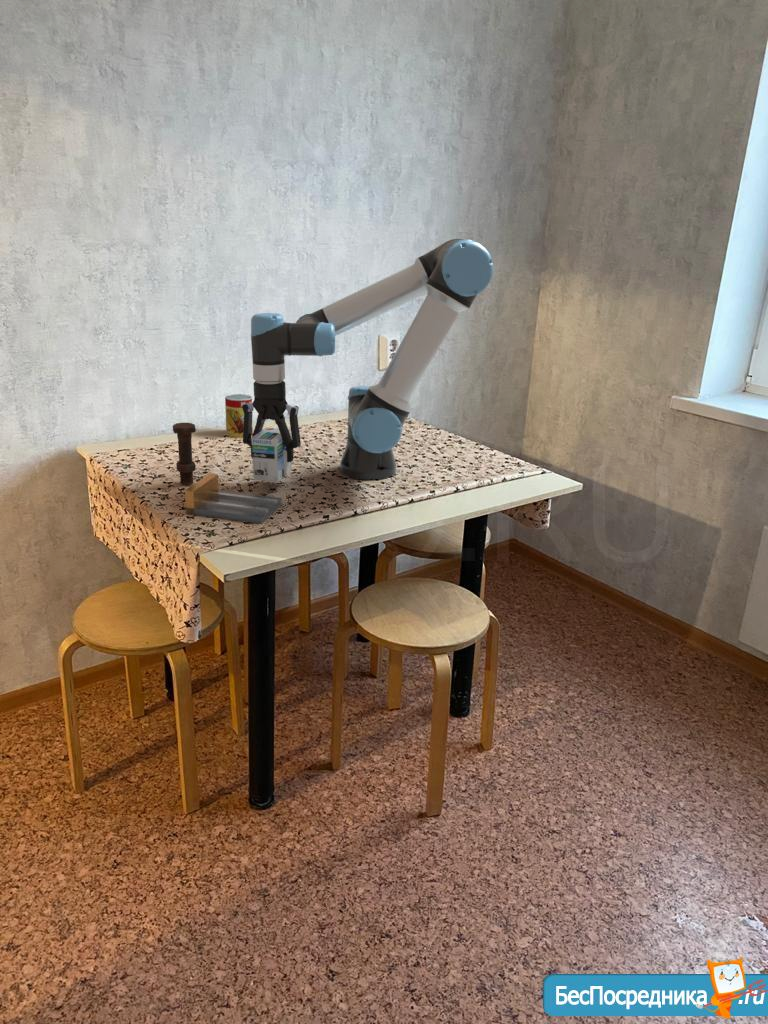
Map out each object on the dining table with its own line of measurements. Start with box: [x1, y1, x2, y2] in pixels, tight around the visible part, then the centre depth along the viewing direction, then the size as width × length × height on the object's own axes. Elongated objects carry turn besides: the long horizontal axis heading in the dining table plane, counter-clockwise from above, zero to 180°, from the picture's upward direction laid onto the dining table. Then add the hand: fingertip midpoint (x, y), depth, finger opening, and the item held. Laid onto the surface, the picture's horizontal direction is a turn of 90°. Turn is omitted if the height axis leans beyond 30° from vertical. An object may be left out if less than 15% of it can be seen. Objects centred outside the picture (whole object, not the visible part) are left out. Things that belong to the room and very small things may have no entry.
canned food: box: [224, 393, 254, 439], centre depth 232 cm, size 8×8×12 cm
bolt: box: [172, 422, 197, 486], centre depth 189 cm, size 6×5×15 cm
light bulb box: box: [251, 426, 292, 483], centre depth 190 cm, size 11×7×11 cm, turn 168°
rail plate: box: [184, 472, 283, 525], centre depth 177 cm, size 18×13×6 cm
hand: (272, 472), depth 191 cm, fingers closed on light bulb box, 7 cm apart
